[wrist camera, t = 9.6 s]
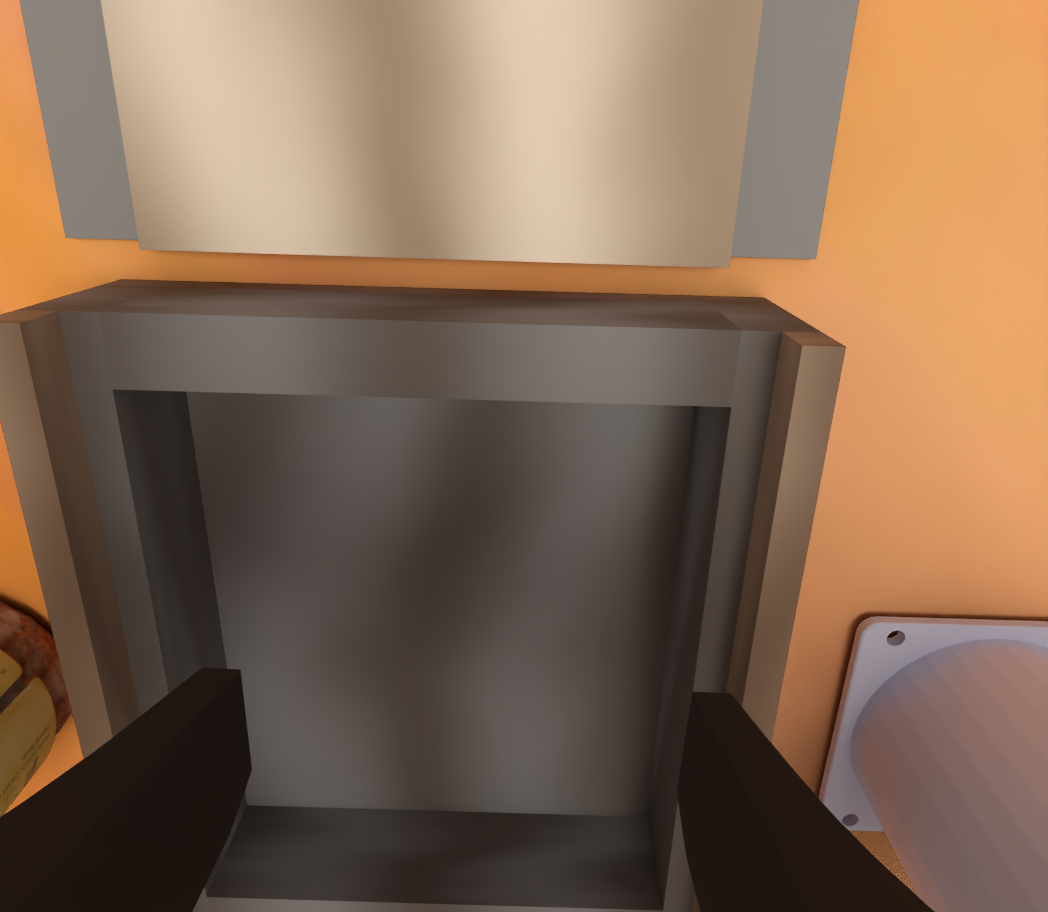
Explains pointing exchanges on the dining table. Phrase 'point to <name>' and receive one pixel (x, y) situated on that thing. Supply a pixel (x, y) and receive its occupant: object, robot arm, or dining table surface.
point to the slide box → (425, 563)
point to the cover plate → (437, 126)
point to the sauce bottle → (27, 700)
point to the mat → (768, 164)
